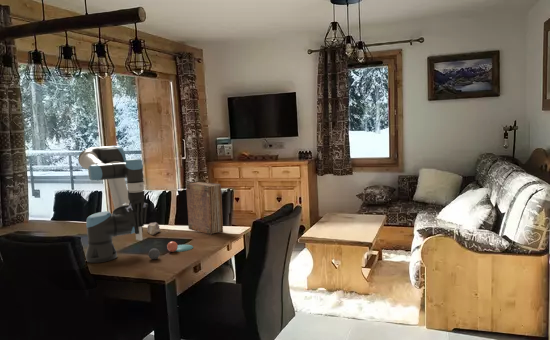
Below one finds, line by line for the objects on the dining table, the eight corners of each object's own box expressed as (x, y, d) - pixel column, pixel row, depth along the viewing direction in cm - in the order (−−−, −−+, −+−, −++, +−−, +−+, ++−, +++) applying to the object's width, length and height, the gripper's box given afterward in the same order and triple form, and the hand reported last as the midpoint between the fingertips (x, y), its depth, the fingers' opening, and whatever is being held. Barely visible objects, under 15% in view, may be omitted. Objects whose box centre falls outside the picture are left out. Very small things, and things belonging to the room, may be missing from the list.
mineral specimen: (163, 234, 278) (162, 224, 277) (151, 235, 274) (150, 225, 274) (157, 230, 289) (156, 220, 288) (146, 231, 285) (145, 222, 284)
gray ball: (152, 261, 221) (151, 250, 221) (146, 259, 225) (146, 248, 225) (162, 259, 225) (161, 248, 225) (156, 256, 229) (156, 246, 229)
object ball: (170, 253, 234) (170, 243, 233) (165, 251, 238) (164, 241, 237) (180, 251, 238) (179, 241, 237) (174, 249, 242) (174, 239, 241)
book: (223, 232, 277) (221, 184, 274) (210, 235, 271) (208, 185, 268) (200, 226, 296) (198, 181, 292) (188, 228, 289) (185, 182, 286)
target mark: (183, 252, 235) (183, 252, 235) (163, 250, 241) (163, 249, 241) (198, 246, 247) (198, 245, 247) (179, 244, 253) (179, 243, 253)
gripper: (131, 193, 206) (135, 243, 208) (151, 189, 217) (154, 237, 219) (119, 193, 209) (123, 242, 211) (140, 189, 221) (143, 236, 223)
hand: (139, 239), depth 215 cm, fingers closed
